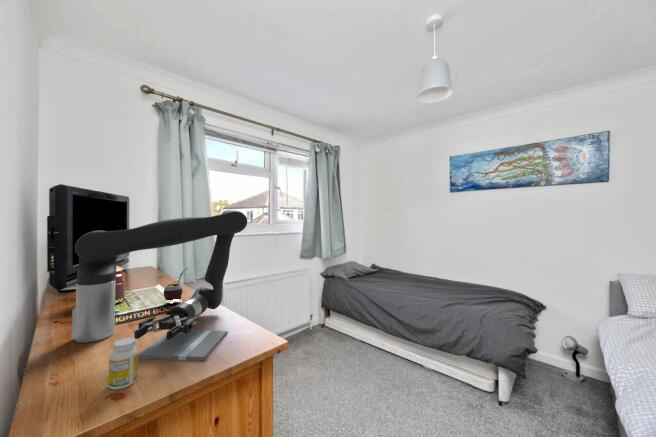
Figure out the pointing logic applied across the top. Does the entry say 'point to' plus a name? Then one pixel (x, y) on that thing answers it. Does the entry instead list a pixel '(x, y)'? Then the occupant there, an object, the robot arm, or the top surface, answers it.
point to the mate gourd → (173, 290)
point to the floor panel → (184, 346)
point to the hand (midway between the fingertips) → (151, 335)
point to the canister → (119, 283)
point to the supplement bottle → (123, 364)
